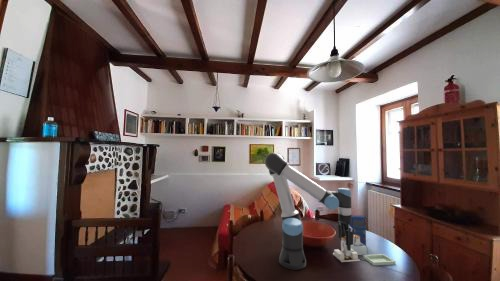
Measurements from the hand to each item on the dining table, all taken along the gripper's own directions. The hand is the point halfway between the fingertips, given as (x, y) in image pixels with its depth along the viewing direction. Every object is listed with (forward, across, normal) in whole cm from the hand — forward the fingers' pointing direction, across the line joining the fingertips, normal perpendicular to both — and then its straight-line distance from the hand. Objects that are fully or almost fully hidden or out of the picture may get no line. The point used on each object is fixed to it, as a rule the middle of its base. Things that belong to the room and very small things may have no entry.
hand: (345, 253), depth 124 cm
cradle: (+3, 0, 0) cm, 3 cm away
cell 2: (+2, +6, -11) cm, 13 cm away
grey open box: (+3, +6, -11) cm, 13 cm away
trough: (+3, -6, -17) cm, 18 cm away
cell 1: (+1, 0, 0) cm, 1 cm away
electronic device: (+3, +16, -19) cm, 25 cm away
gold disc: (+3, 0, 0) cm, 3 cm away
